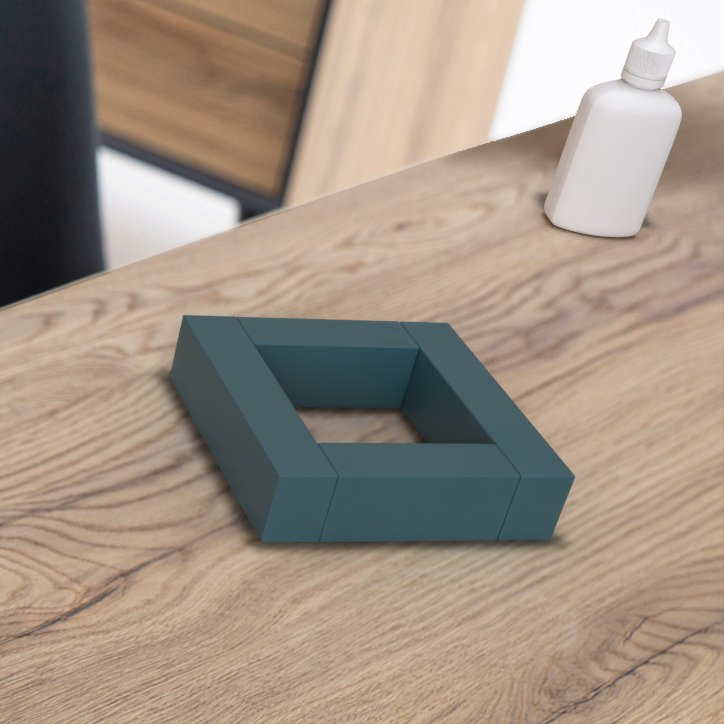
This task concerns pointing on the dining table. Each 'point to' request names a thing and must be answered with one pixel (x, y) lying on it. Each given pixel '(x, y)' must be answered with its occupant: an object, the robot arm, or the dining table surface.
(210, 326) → the frame
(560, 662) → the dining table surface
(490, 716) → the dining table surface
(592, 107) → the eye dropper bottle
